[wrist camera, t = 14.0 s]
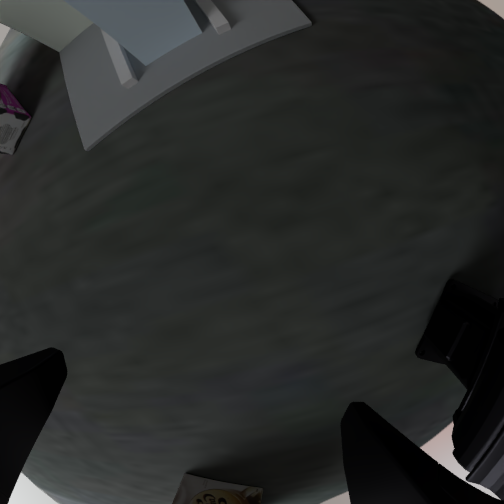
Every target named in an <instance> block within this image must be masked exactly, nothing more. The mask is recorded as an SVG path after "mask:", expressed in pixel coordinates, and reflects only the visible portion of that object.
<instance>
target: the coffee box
mask: <svg viewBox="0 0 504 504" xmlns="http://www.w3.org/2000/svg"><path fill="white" fill-rule="evenodd" d="M262 493H263V488H259V487H251V486H244V485H238V484H232V483H226V482H221V481H216V480H211V479H207V478H202V477H198V476H194V475H190V474H186V473H185V474H184V476H183V478H182V481H181V483H180V486H179V488H178V491H177V493H176V495H175V498H174V501H173V503H172V504H261V499H262Z"/></svg>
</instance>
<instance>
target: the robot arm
mask: <svg viewBox="0 0 504 504" xmlns="http://www.w3.org/2000/svg"><path fill="white" fill-rule="evenodd" d="M452 284H453V288H452V289H451V285H452ZM493 303H494V304H493ZM497 307H498V308H497ZM422 350H423V352H422V353H420V352H421V351H422ZM415 354H416V356H417V357H418V358H420V359H424V360H428V361H433V362H437V363H441V364H445V365H447V366H448V368H449V369H450V370H451V371H452V372H453V373H454V375H455V376H456V377H457V378H458V379H459V380H460V382H461V383H462V384H463V385H464V386H465V388H466V389H467V392H466V394H465V396H464V398H463V400H462V402H461V404H460V406H459V408H458V409H457V410H456V411H455V413H454V415H453V423H454V427H453V432H452V440H453V445H454V448H455V449H454V450H453V455H454V457H455V459H456V460H457V462H458V463H459V464H460V465H461V466H462V467H463V468H464V469H465V470H467V471H469V472H470V473H469V474H468V475H467V477H466V480H467V481H468V482H472V483H476V484H480V485H482V486H484V487H485V488H487V489H490V490H491V491H492V492H493V493H495V495H497V496H498V497H499V498H500V499H501V500H499V499H496V498H494V497H492V496H490V495H488V494H486V493H484V492H482V491H481V490H479V489H477V488H475V487H473V486H472V485H470V484H468V483H467V482H465V481H463V480H462V479H460V478H458V477H457V476H456V475H454V474H453V473H451V472H450V471H449V470H447V469H446V468H445V467H443V466H442V465H441V464H438V462H437V461H435V460H434V459H433V458H432V457H430V456H429V455H428V454H427V453H425V452H424V451H423V450H422V449H420V448H419V447H418V446H417V445H415V444H414V443H413V442H412V441H410V440H409V439H408V438H407V437H405V436H404V435H403V434H402V433H400V432H399V431H398V430H397V429H396V428H394V427H393V426H392V425H391V424H390V423H388V422H387V421H386V420H385V419H384V418H382V417H381V416H380V415H379V414H378V413H376V412H375V411H374V410H373V409H372V408H371V407H369V406H368V405H367V404H366V403H364V402H352V403H350V404H349V406H348V408H347V410H346V412H345V414H344V416H343V418H342V420H341V437H342V450H343V463H344V470H345V475H346V481H347V486H348V491H349V496H350V502H351V504H504V298H499V302H498V300H497V299H495V298H493V297H491V296H489V295H486V294H484V293H482V292H480V291H478V290H476V289H473V288H471V287H469V286H467V285H464V284H462V283H460V282H458V281H455V280H453V279H451V280H449V281H448V282H447V284H446V286H445V289H444V291H443V293H442V296H441V298H440V301H439V303H438V305H437V306H436V309H435V311H434V313H433V315H432V317H431V319H430V322H429V324H428V326H427V328H426V330H425V332H424V335H423V337H422V339H421V341H420V343H419V345H418V347H417V348H416V351H415ZM66 377H67V367H66V363H65V359H64V355H63V353H62V351H60V350H58V349H55V348H52V347H51V348H48V349H45V350H42V351H39V352H36V353H33V354H30V355H27V356H24V357H22V358H19V359H16V360H13V361H10V362H7V363H4V364H1V365H0V504H8V502H9V498H10V496H11V493H12V491H13V489H14V486H15V484H16V482H17V479H18V477H19V475H20V473H21V471H22V468H23V466H24V464H25V462H26V460H27V458H28V456H29V454H30V452H31V450H32V448H33V446H34V444H35V442H36V440H37V438H38V436H39V434H40V432H41V430H42V428H43V426H44V425H45V423H46V421H47V419H48V417H49V415H50V413H51V411H52V409H53V407H54V405H55V402H56V400H57V398H58V395H59V393H60V391H61V388H62V386H63V384H64V382H65V379H66Z"/></svg>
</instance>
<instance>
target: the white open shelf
mask: <svg viewBox="0 0 504 504" xmlns="http://www.w3.org/2000/svg"><path fill="white" fill-rule="evenodd" d="M184 2H185V4H186V5H187V7H188V9H189V10H190V12H191V14H192V16H193V17H194V19H195V21H196V22H197V24H198V26H199V28H200V29H201V31H202V33H201V34H199V35H198V36H196V37H194V38H192V39H190V40H188V41H186V42H185V43H183V44H181V45H179V46H178V47H176V48H174V49H172V50H171V51H169V52H167V53H166V54H164V55H163V56H161V57H159V58H158V59H156V60H155V61H153V62H152V63H150V64H149V65H147V66H145V65H144V64H143V63H142V62H141V61H139V60H138V59H137V58H136V57H135V56H134V55H132V54H131V53H130V52H129V51H128V50H126V49H125V48H124V47H123V46H122V45H120V44H119V43H118V42H117V41H116V40H114V39H113V38H112V37H111V36H110V35H108V34H107V33H106V32H105V31H103V30H102V29H101V28H100V27H98V26H97V25H96V24H94V23H93V22H92V21H91V20H89V19H88V18H87V17H85V16H84V15H83V14H81V13H80V12H79V11H77V10H76V9H75V8H73V7H72V6H71V5H69V4H68V3H67V2H65V1H64V0H0V23H2V24H4V25H6V26H8V27H10V28H12V29H15V30H17V31H19V32H21V33H23V34H25V35H27V36H29V37H31V38H33V39H35V40H37V41H39V42H41V43H43V44H45V45H47V46H49V47H51V48H52V49H54V50H56V51H58V52H59V53H60V58H61V63H62V68H63V73H64V77H65V82H66V86H67V90H68V94H69V98H70V102H71V106H72V109H73V113H74V116H75V120H76V123H77V127H78V130H79V133H80V136H81V140H82V143H83V146H84V149H85V151H90V150H91V149H92V148H93V147H94V146H95V145H97V144H98V143H99V142H100V141H102V140H103V139H104V138H105V137H106V136H108V135H109V134H110V133H112V132H113V131H114V130H115V129H117V128H118V127H119V126H121V125H122V124H123V123H125V122H126V121H127V120H129V119H130V118H131V117H133V116H134V115H136V114H137V113H138V112H140V111H141V110H143V109H144V108H146V107H147V106H149V105H150V104H152V103H153V102H155V101H156V100H158V99H159V98H161V97H162V96H164V95H165V94H167V93H168V92H170V91H172V90H173V89H175V88H177V87H178V86H180V85H182V84H183V83H185V82H187V81H188V80H190V79H192V78H194V77H195V76H197V75H199V74H201V73H203V72H205V71H206V70H208V69H210V68H212V67H214V66H216V65H218V64H220V63H222V62H224V61H226V60H228V59H230V58H232V57H234V56H236V55H238V54H241V53H243V52H245V51H247V50H249V49H252V48H254V47H256V46H259V45H261V44H263V43H266V42H268V41H271V40H273V39H276V38H279V37H281V36H284V35H287V34H289V33H292V32H295V31H298V30H301V29H304V28H307V27H310V26H311V25H312V22H311V21H310V20H309V19H308V18H307V17H306V15H305V14H304V13H303V12H302V11H301V10H300V9H299V8H298V7H297V5H296V4H295V3H294V2H293V1H292V0H184Z"/></svg>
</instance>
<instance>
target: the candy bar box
mask: <svg viewBox="0 0 504 504" xmlns="http://www.w3.org/2000/svg"><path fill="white" fill-rule="evenodd" d="M30 120H31V116H30V115H29V114H28V113H27V111H26V110H25V109H24V108H23V107H22V105H21V104H20V103H19V102H18V100H17V99H16V98H15V97H14V95H13V94H12V93H11V92H10V90H9V89H8V88H7V86H6V85H3V84H0V153H2V154H10V155H13V154H14V152H15V150H16V148H17V146H18V144H19V142H20V139H21V137H22V136H23V134H24V132H25V130H26V128H27V126H28V124H29V122H30Z"/></svg>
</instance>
